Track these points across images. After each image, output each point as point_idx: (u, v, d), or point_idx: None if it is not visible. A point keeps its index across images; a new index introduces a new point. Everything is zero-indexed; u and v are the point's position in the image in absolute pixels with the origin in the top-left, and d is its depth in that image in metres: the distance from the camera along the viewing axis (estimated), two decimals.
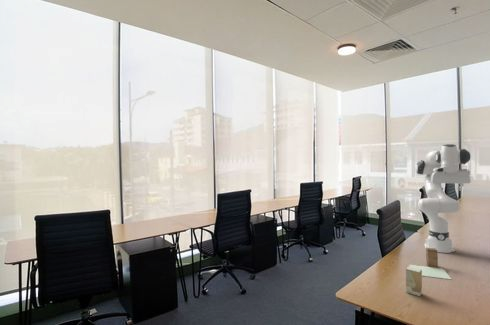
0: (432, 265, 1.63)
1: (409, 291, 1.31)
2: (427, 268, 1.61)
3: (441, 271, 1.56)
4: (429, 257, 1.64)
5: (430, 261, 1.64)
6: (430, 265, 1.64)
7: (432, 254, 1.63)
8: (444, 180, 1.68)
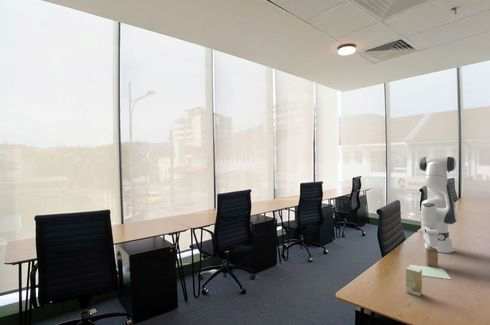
0: (432, 265, 1.63)
1: (409, 291, 1.31)
2: (427, 268, 1.61)
3: (441, 271, 1.56)
4: (429, 257, 1.64)
5: (430, 261, 1.63)
6: (430, 265, 1.64)
7: (432, 254, 1.63)
8: None
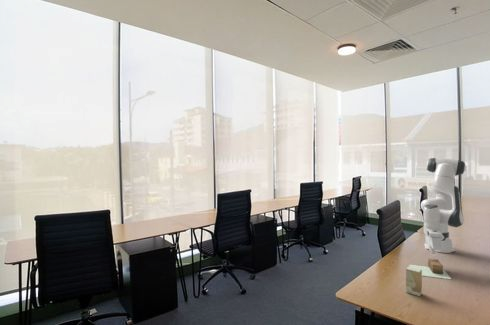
0: None
1: (409, 291, 1.31)
2: (427, 268, 1.61)
3: None
4: None
5: None
6: None
7: None
8: None
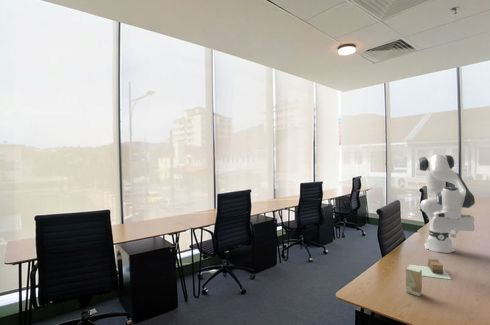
0: None
1: (409, 291, 1.31)
2: (427, 268, 1.61)
3: None
4: None
5: None
6: None
7: None
8: (446, 226, 1.55)
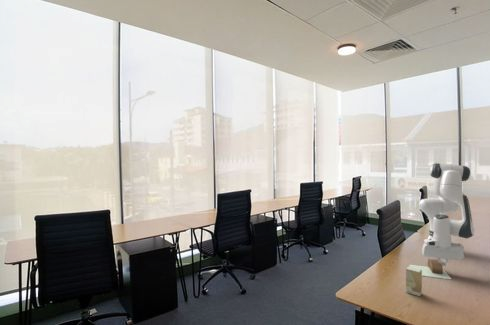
0: None
1: (409, 291, 1.31)
2: (427, 268, 1.61)
3: None
4: None
5: None
6: None
7: None
8: (436, 254, 1.56)
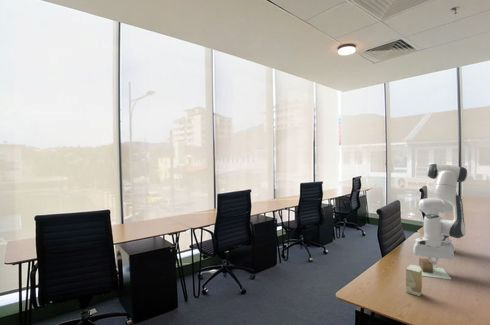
0: None
1: (409, 291, 1.31)
2: None
3: (441, 271, 1.56)
4: None
5: None
6: None
7: None
8: (427, 253, 1.58)
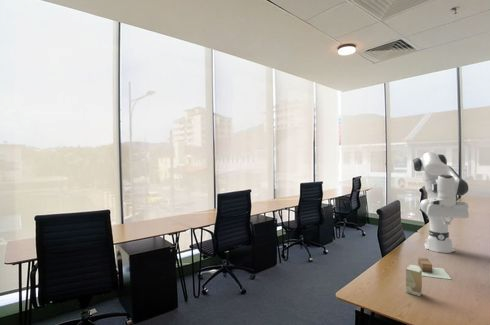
0: None
1: (409, 291, 1.31)
2: None
3: (441, 271, 1.56)
4: None
5: None
6: None
7: None
8: (440, 213, 1.57)
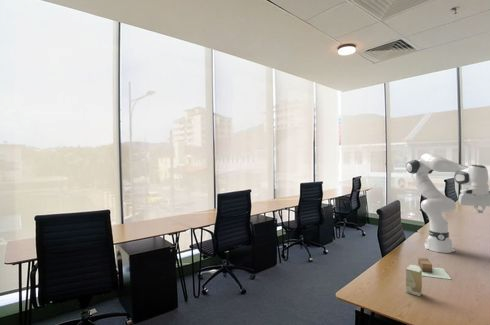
0: None
1: (409, 291, 1.31)
2: None
3: (441, 271, 1.56)
4: None
5: None
6: None
7: None
8: (473, 202, 1.61)
